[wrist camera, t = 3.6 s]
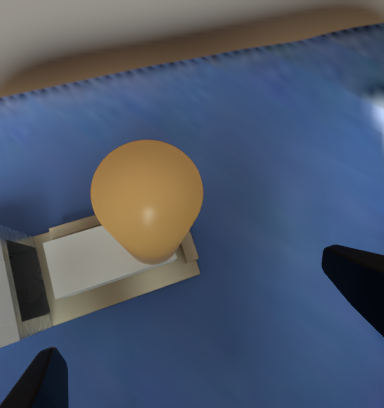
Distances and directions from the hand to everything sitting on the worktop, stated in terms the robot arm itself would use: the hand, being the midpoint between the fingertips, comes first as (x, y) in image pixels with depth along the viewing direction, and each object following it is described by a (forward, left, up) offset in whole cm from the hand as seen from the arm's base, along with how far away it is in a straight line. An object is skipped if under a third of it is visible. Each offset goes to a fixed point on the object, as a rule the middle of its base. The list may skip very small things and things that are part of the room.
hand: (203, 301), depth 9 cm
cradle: (0, +5, -12) cm, 13 cm away
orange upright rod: (0, +5, -11) cm, 12 cm away
